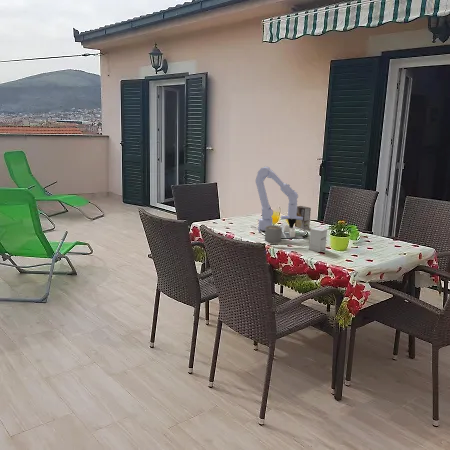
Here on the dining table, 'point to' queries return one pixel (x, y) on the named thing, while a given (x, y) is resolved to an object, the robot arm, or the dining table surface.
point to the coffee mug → (273, 234)
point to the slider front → (292, 233)
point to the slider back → (286, 228)
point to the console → (297, 235)
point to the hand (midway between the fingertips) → (290, 230)
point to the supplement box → (317, 239)
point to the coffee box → (305, 214)
